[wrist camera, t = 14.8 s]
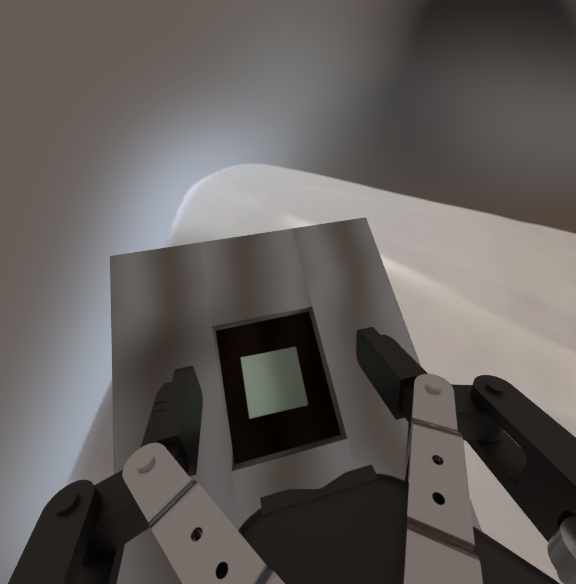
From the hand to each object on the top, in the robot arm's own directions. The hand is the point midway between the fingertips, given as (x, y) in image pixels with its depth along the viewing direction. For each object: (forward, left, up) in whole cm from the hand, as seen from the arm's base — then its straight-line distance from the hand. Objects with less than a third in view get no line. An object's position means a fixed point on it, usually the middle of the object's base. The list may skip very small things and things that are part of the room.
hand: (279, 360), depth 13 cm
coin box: (0, +1, -21) cm, 21 cm away
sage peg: (0, +1, -20) cm, 20 cm away
